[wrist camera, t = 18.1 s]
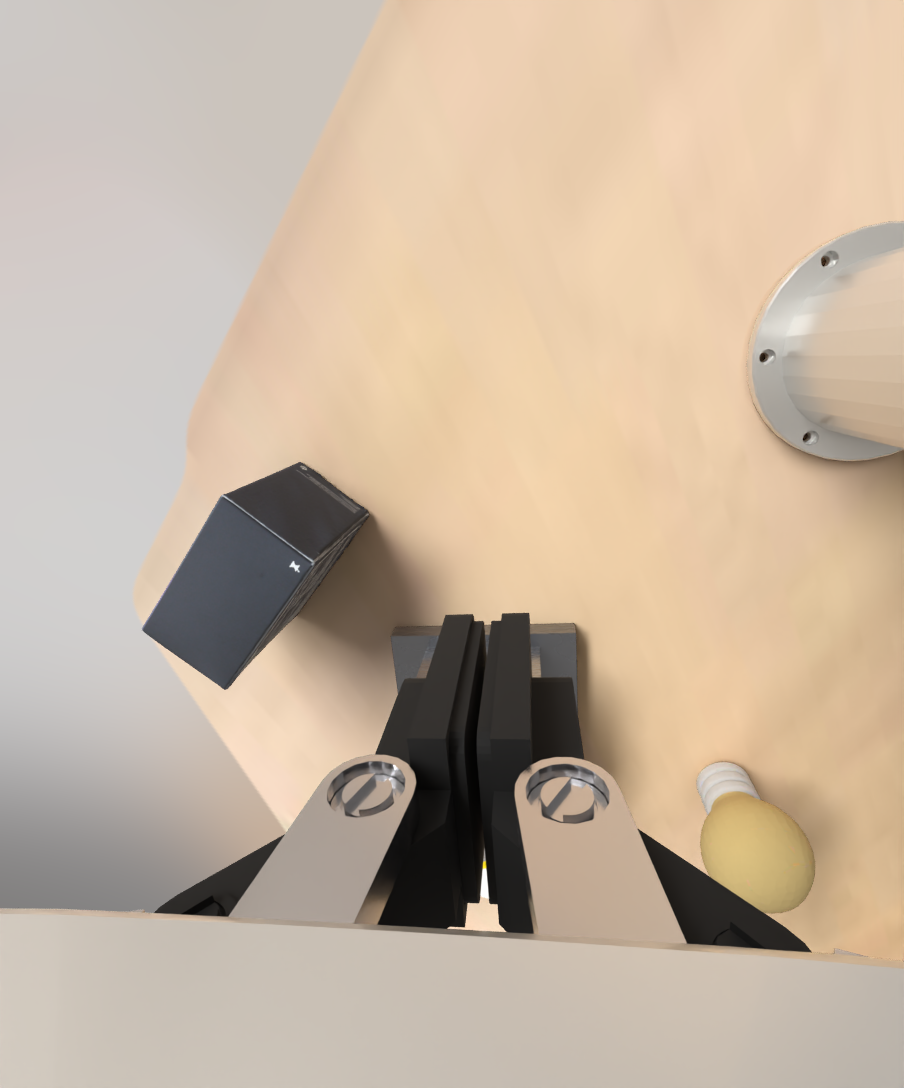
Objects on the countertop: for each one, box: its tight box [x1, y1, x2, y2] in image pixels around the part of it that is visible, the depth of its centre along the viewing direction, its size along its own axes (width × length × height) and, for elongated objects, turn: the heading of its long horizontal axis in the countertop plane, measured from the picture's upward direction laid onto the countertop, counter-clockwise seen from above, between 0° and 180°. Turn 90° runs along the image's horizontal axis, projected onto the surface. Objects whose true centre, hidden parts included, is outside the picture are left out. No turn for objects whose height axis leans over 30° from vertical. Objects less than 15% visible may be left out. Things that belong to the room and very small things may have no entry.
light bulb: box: [697, 762, 815, 913], centre depth 38 cm, size 6×6×10 cm
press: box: [391, 623, 578, 862], centre depth 40 cm, size 13×22×10 cm, turn 5°
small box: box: [142, 462, 369, 690], centre depth 36 cm, size 11×6×10 cm, turn 143°
